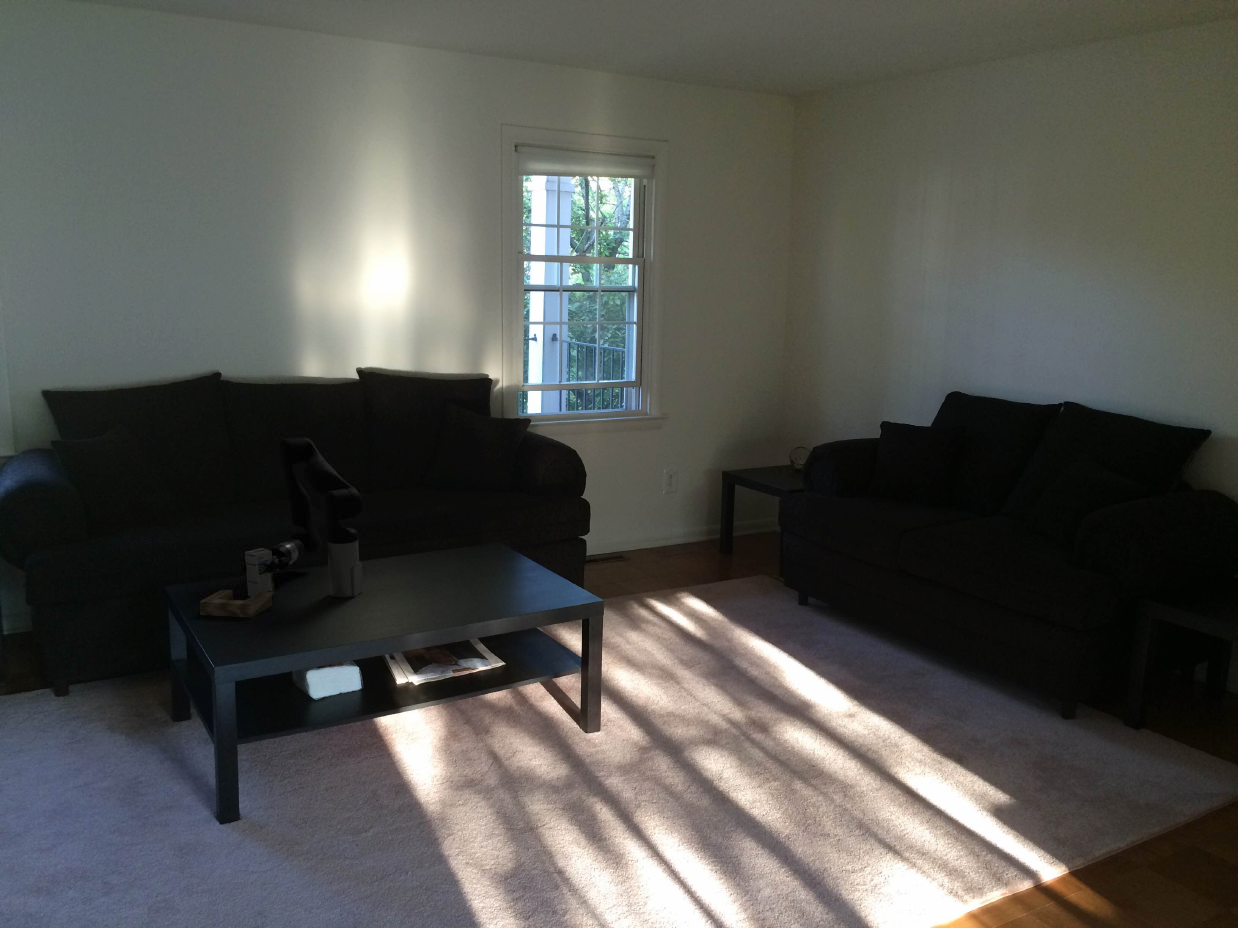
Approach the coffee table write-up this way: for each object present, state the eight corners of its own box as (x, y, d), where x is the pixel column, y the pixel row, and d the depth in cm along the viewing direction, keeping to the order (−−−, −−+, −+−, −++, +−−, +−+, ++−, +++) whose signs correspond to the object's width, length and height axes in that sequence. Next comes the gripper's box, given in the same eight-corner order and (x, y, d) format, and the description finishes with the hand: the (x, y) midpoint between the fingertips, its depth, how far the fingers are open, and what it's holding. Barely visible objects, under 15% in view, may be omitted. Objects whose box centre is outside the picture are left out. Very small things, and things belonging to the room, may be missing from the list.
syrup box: (259, 599, 303) (256, 553, 301) (247, 596, 307) (244, 550, 304) (274, 594, 308) (272, 549, 306) (262, 591, 311) (260, 547, 309)
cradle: (271, 604, 298) (271, 592, 297) (251, 617, 286) (250, 604, 286) (222, 602, 300) (221, 589, 300) (200, 614, 289) (199, 601, 288)
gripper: (260, 543, 320) (233, 556, 304) (301, 545, 318) (277, 558, 302) (261, 565, 322) (235, 579, 306) (303, 567, 320) (278, 582, 304)
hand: (256, 569), depth 304 cm, fingers closed on syrup box, 7 cm apart
